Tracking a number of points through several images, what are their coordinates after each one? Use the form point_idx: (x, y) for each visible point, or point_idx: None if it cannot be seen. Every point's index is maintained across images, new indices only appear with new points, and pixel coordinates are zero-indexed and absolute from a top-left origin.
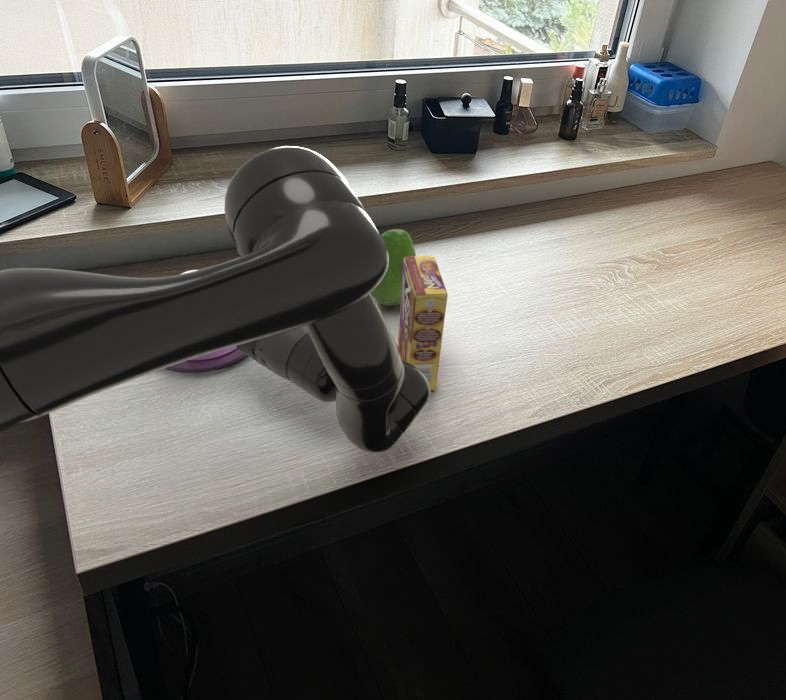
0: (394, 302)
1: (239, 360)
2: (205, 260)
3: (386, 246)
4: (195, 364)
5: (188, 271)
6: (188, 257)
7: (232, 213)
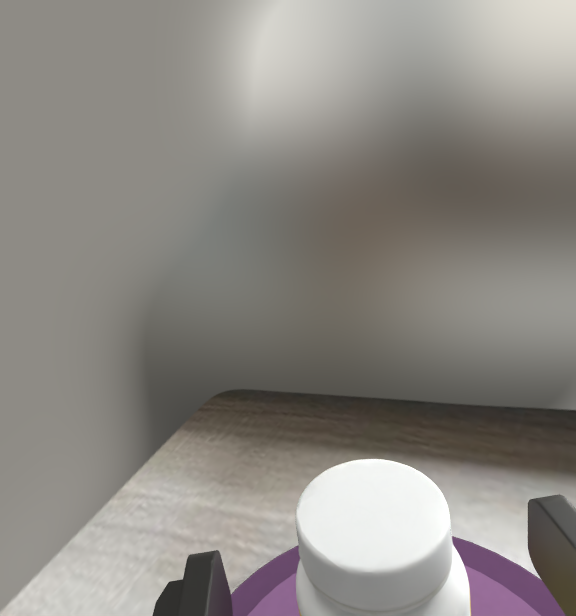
0: None
1: None
2: (513, 423)
3: None
4: None
5: (371, 462)
6: (476, 407)
7: None
